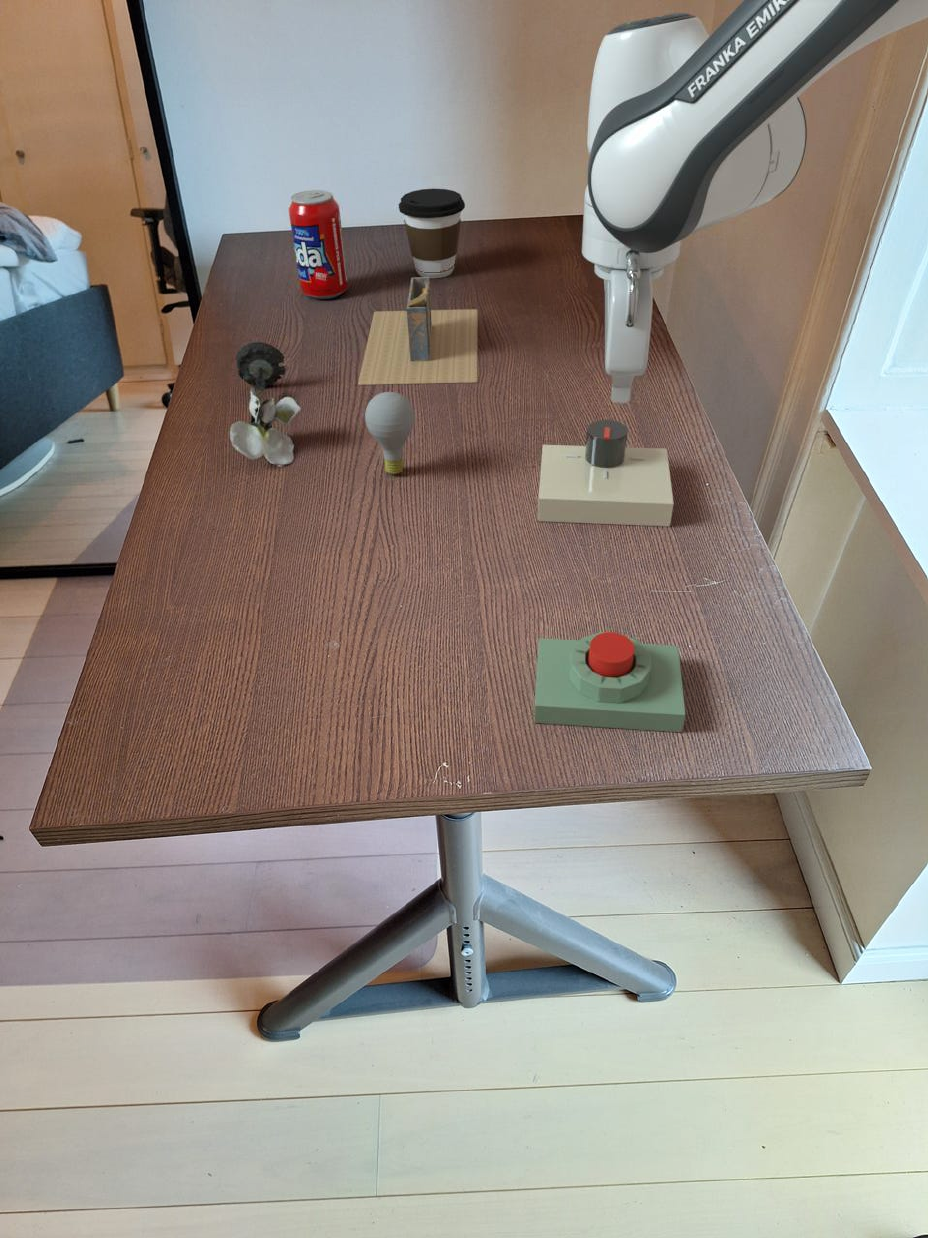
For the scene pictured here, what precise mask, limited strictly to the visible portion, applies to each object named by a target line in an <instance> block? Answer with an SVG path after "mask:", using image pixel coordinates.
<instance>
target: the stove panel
mask: <svg viewBox="0 0 928 1238" xmlns="http://www.w3.org/2000/svg"><path fill="white" fill-rule="evenodd" d="M541 447H542V448H541V460H540V461H541V462H540V473H539V485H538V486H539V487H538V498H537V499H538V500H537V501H538V502H537V522H541V523H542V522H545V523H569V524H592V525H594V524H595V525H614V526H615V525H619V526H641V527H667V528H670V527H671V524H672V518H673V517H672V516H673V511H674V505H675V503H674V494H673V487H672V478H671V471H670V464H669V455H668V449H667V448H666V447H665V448H663V447H661V448H660V447H632V446H626V451H625V459H624V461H623V463H622V464H620V465H618V466H616V467H611V468H601V467H596V466H594V465H591V464H590V463H588V462H587V461H586V459H585V448H586V445H571V444H570V445H567V444H566V445H564V444H542V446H541Z"/></svg>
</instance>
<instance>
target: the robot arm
mask: <svg viewBox="0 0 928 1238" xmlns="http://www.w3.org/2000/svg"><path fill="white" fill-rule="evenodd" d="M925 19H928V0H743V1H742V2H741V3H740V4H739V5H738V6H737V7H736V8H735V9H734V10H733V11H732V12H731V14H730V15H728V17H727V18H726V19H725V20H724V21H723V22H722V23H721V24H720V25H719V26H718V27H717V28H716V29H715V31H713V32H712V33H711V35H709V34H708V31H707V29H706V27H705V26H704V24H703V22H702V21H701V19H700V18H699V17H697V16H696V15H694V14H691V13H687V12H674V13H670V14H663V15H659V16H654V17H650V18H645V19H644V18H643V19H638V20H635V21H634V20H633V21H628V22H624V23H621V24H618V25H616V26H615V27H613V28H612V29H611V30H610V31H608V33H606V34H605V35H604V37H603V39H602V40H601V43H600V45H599V49H598V52H597V55H596V58H595V61H594V62H595V63H594V67H593V72H592V73H593V74H592V79H591V87H590V97H589V104H588V105H589V107H588V118H587V120H588V122H587V138H586V139H587V140H586V144H587V145H586V146H587V151H588V157H589V158H588V164H587V184H586V188H585V191H584V200H583V202H584V203H583V217H582V219H583V220H582V240H581V255H582V256H583V258H584V259H585V260H586V261H588V262H590V263H591V264H594V267H593V268H594V269H593V270H594V271H593V272H594V274H595V275H596V276H597V277H598V278H600V279H602V280H603V288H604V289H603V290H604V369H605V373H606V374H607V375H608V376H611V392H610V400H611V402H612V403H613V404H628V403H629V402H630V401H631V394H632V386H633V384H634V383H633V382H634V379H635V377H641V376H644V374H645V373H646V371H647V367H648V360H649V351H650V340H651V329H652V318H653V302H654V291H653V290H654V289H653V281H655V280H658V279H659V278H660V277H662V276H663V274H664V271H665V266H666V265H669V264H671V263H673V262H674V261H676V260H677V259H678V258H679V256H680V254H681V247H682V240H685V238H687V237H689V236H690V235H692V234H695V233H697V232H700V231H703V230H705V229H707V228H710V227H713V226H716V225H718V224H721V223H722V222H725V221H728V220H731V219H733V218H735V217H737V216H740V215H742V214H745V213H747V212H749V211H752V210H754V209H756V208H758V207H760V206H763V205H765V204H766V203H768V202H770V201H771V200H773V199H775V198H777V197H779V196H780V195H782V194H783V193H784V192H785V191H786V190H787V189H788V188H789V187H790V185H791V184H792V183H793V181H794V180H795V178H796V176H797V175H798V173H799V171H800V169H801V166H802V163H803V161H804V157H805V153H806V149H807V139H808V127H807V120H806V114H805V110H804V108H803V104H802V102H801V100H800V98H799V97H800V96H801V94H803V92H805V91H806V90H807V89H808V88H809V87H810V86H812V84H814V83H815V82H816V81H818V79H819V78H821V77H822V76H823V75H824V74H825V73H827V72H828V71H830V70H831V69H832V68H833V67H835V66H836V65H838V64H839V63H840V62H842V61H844V60H845V59H846V58H848V57H849V56H851V55H853V54H854V53H856V52H857V51H859V50H861V49H863V48H864V47H866V46H868V45H870V44H872V43H874V42H876V41H878V40H880V39H881V38H884V37H886V36H888V35H890V34H892V33H894V32H896V31H899V30H902V29H904V28H906V27H908V26H911V25H913V24H916V23H918V22H920V21H923V20H925Z"/></svg>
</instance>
